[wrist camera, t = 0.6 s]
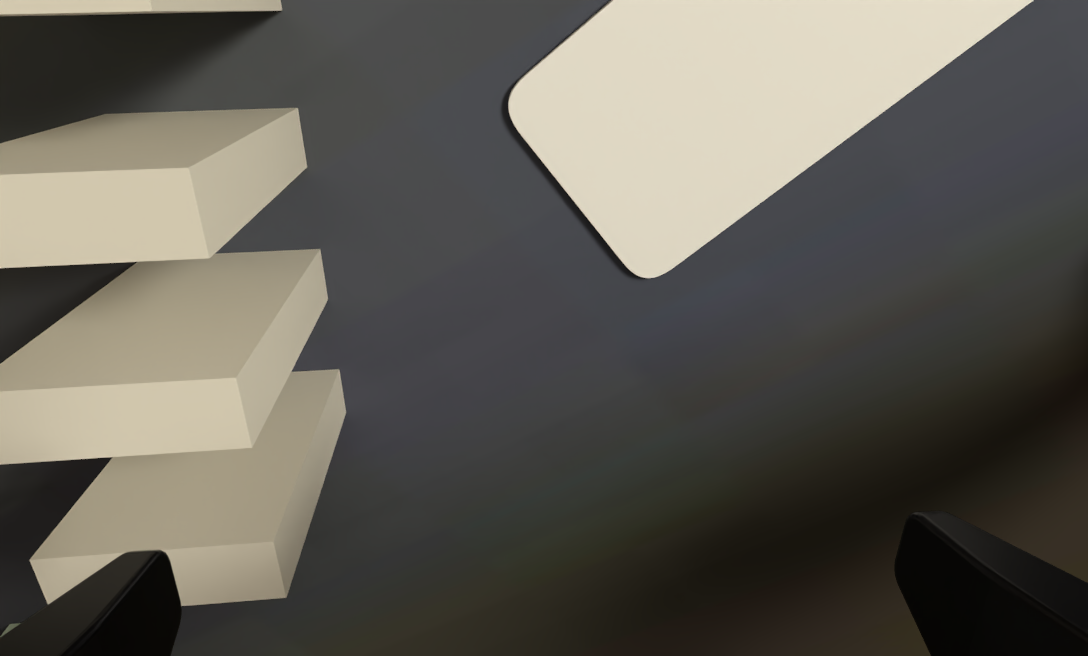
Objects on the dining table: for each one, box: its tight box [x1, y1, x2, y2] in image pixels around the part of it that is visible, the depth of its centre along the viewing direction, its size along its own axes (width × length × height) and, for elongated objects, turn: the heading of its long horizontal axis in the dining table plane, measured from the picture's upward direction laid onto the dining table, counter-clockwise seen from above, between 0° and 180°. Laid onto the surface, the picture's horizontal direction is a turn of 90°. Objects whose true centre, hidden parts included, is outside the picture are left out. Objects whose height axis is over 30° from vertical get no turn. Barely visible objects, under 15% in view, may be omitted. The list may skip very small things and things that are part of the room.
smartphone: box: [508, 0, 1033, 278], centre depth 19 cm, size 7×1×15 cm
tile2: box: [30, 369, 346, 606], centre depth 19 cm, size 2×5×8 cm, turn 91°
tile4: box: [0, 108, 307, 268], centre depth 16 cm, size 2×5×8 cm, turn 91°
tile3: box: [0, 249, 328, 464], centre depth 17 cm, size 2×5×8 cm, turn 91°
